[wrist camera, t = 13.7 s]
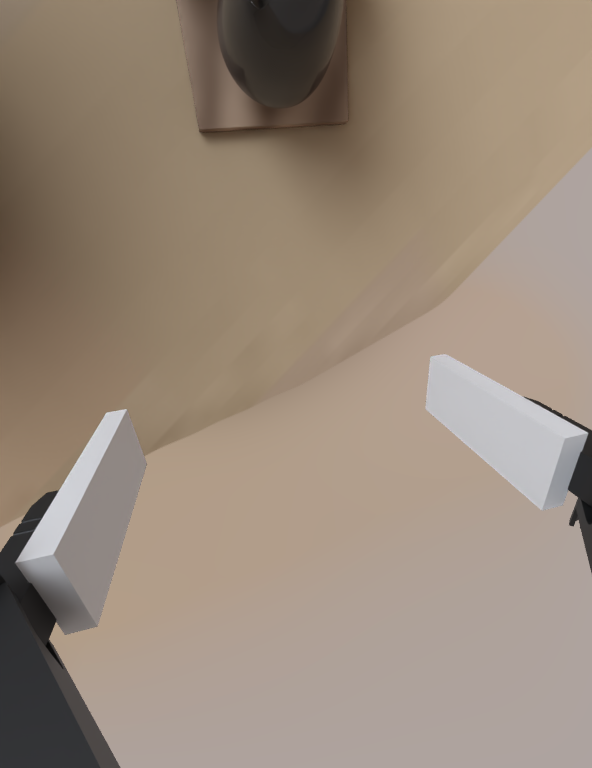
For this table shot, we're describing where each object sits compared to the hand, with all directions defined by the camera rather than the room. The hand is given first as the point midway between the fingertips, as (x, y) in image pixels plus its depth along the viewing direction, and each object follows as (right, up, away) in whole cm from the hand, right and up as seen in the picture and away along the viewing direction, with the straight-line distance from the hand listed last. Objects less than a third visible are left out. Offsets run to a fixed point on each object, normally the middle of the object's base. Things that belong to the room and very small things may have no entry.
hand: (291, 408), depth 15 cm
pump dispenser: (-3, +33, +18) cm, 38 cm away
